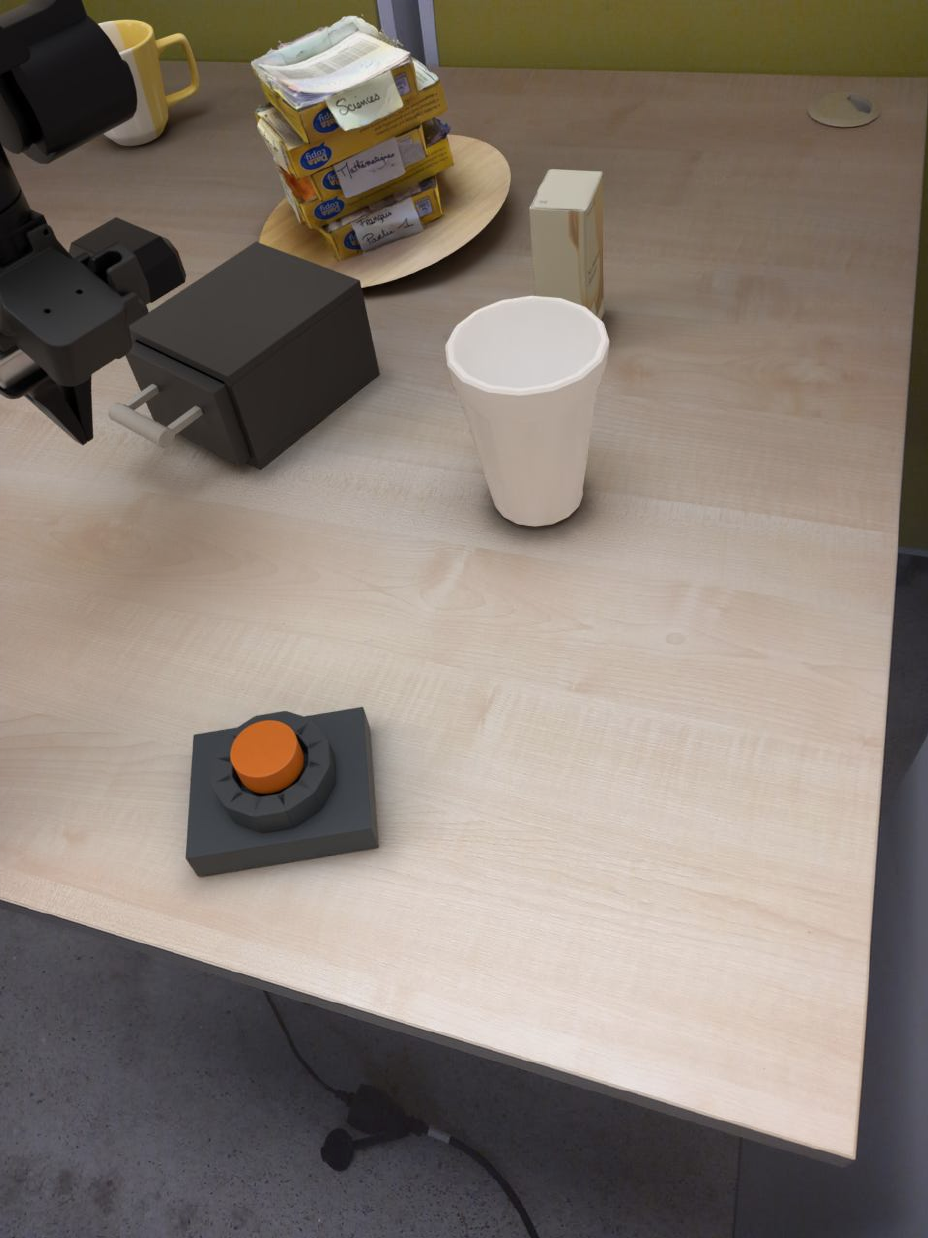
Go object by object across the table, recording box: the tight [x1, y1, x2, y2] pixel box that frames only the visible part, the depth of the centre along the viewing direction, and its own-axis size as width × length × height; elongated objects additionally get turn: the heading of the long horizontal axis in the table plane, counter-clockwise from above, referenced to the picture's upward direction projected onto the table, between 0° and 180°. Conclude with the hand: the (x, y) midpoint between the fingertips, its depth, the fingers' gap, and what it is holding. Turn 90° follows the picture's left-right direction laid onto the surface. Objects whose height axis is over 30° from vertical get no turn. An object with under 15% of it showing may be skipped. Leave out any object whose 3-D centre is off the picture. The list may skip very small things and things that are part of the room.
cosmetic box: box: [528, 168, 605, 321], centre depth 80 cm, size 6×4×12 cm
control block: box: [185, 706, 380, 878], centre depth 57 cm, size 10×8×4 cm
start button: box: [230, 720, 304, 794], centre depth 55 cm, size 4×4×2 cm
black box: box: [129, 241, 380, 470], centre depth 80 cm, size 14×12×9 cm
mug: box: [97, 19, 201, 147], centre depth 114 cm, size 14×10×10 cm
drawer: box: [107, 341, 251, 467], centre depth 78 cm, size 17×10×7 cm, turn 141°
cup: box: [444, 295, 610, 527], centre depth 67 cm, size 10×10×13 cm
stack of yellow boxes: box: [250, 13, 512, 289], centre depth 92 cm, size 25×25×17 cm
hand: (84, 440), depth 64 cm, fingers closed
